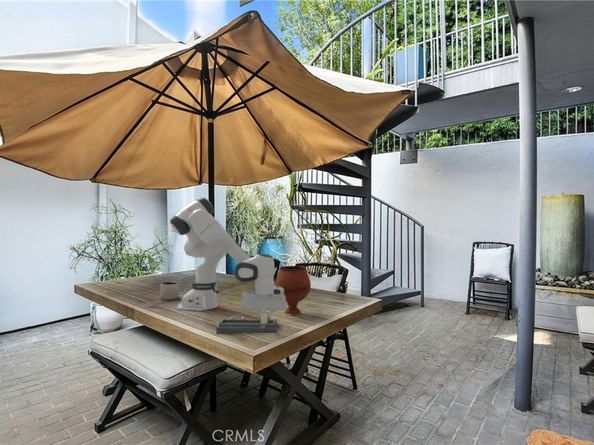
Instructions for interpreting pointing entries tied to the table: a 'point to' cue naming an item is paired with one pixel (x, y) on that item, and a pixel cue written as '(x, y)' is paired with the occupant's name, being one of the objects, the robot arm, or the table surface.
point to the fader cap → (264, 317)
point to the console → (245, 326)
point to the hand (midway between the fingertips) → (264, 319)
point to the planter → (169, 290)
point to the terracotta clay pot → (293, 286)
